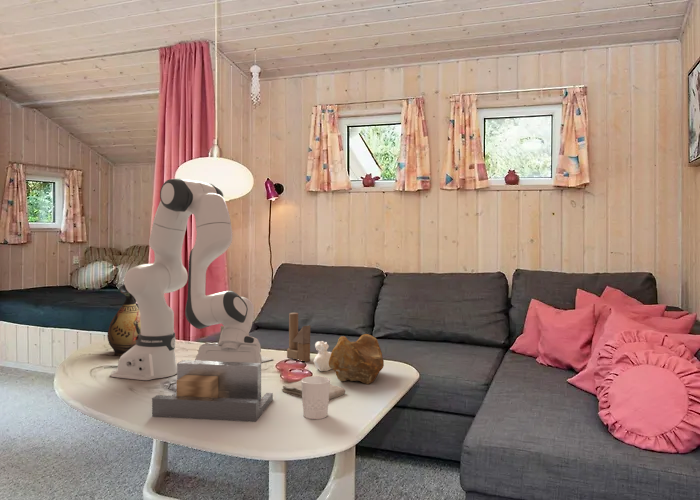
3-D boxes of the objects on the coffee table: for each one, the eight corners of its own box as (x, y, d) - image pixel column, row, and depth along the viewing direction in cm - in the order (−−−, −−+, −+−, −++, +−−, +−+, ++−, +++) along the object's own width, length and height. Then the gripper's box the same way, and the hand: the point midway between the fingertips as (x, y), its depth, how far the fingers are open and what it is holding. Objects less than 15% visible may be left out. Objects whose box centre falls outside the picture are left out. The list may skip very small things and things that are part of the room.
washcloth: (303, 385, 183) (304, 375, 183) (347, 395, 173) (347, 385, 173) (279, 393, 174) (279, 383, 174) (323, 404, 163) (323, 394, 163)
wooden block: (302, 362, 212) (303, 316, 211) (286, 357, 220) (287, 312, 219) (310, 361, 214) (310, 315, 213) (294, 356, 222) (294, 312, 221)
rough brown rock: (360, 394, 175) (365, 348, 174) (320, 380, 185) (325, 337, 184) (398, 381, 194) (403, 339, 193) (360, 369, 204) (364, 329, 203)
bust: (332, 371, 208) (317, 345, 211) (345, 361, 205) (330, 335, 208) (314, 378, 198) (298, 351, 201) (328, 368, 194) (312, 340, 198)
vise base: (152, 416, 150) (152, 398, 150) (180, 395, 169) (180, 379, 169) (255, 421, 147) (256, 403, 147) (272, 399, 166) (272, 383, 166)
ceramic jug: (139, 358, 215) (139, 282, 214) (100, 357, 215) (100, 281, 214) (155, 348, 232) (155, 278, 231) (119, 348, 232) (119, 277, 231)
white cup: (301, 410, 156) (301, 376, 156) (328, 410, 157) (329, 375, 156) (301, 420, 148) (301, 384, 148) (330, 420, 149) (330, 383, 149)
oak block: (176, 412, 154) (176, 380, 153) (185, 405, 160) (185, 374, 159) (211, 413, 153) (211, 381, 152) (218, 406, 159) (218, 376, 158)
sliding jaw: (177, 404, 160) (177, 363, 160) (182, 399, 164) (182, 360, 164) (257, 407, 158) (257, 366, 157) (261, 403, 162) (261, 363, 161)
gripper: (198, 337, 172) (186, 376, 162) (262, 339, 170) (253, 379, 160) (203, 348, 176) (192, 387, 167) (266, 350, 174) (257, 389, 165)
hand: (222, 383), depth 164 cm, fingers closed, pressing on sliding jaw
